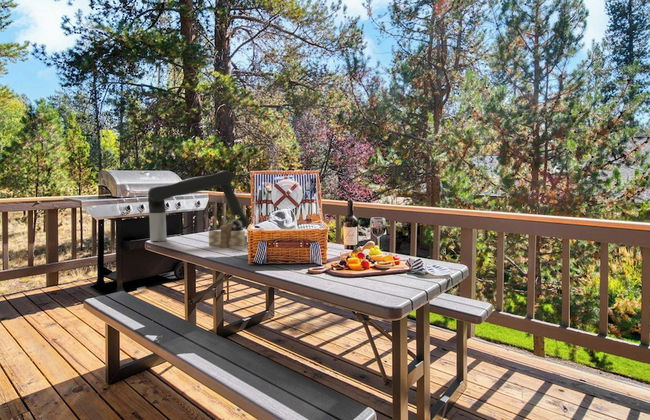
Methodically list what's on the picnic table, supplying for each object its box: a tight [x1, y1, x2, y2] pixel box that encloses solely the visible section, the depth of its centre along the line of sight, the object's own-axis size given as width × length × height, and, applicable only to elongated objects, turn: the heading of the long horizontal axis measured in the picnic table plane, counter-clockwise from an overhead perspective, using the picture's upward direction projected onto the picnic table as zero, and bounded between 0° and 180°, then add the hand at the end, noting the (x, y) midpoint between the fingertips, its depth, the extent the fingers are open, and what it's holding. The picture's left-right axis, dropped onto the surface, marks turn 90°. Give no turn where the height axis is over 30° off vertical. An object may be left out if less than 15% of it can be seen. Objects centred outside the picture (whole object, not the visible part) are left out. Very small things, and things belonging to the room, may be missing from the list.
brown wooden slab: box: [220, 221, 234, 249], centre depth 241 cm, size 18×3×12 cm, turn 0°
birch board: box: [208, 230, 246, 246], centre depth 241 cm, size 20×2×8 cm, turn 89°
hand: (228, 230), depth 244 cm, fingers open, 3 cm apart
